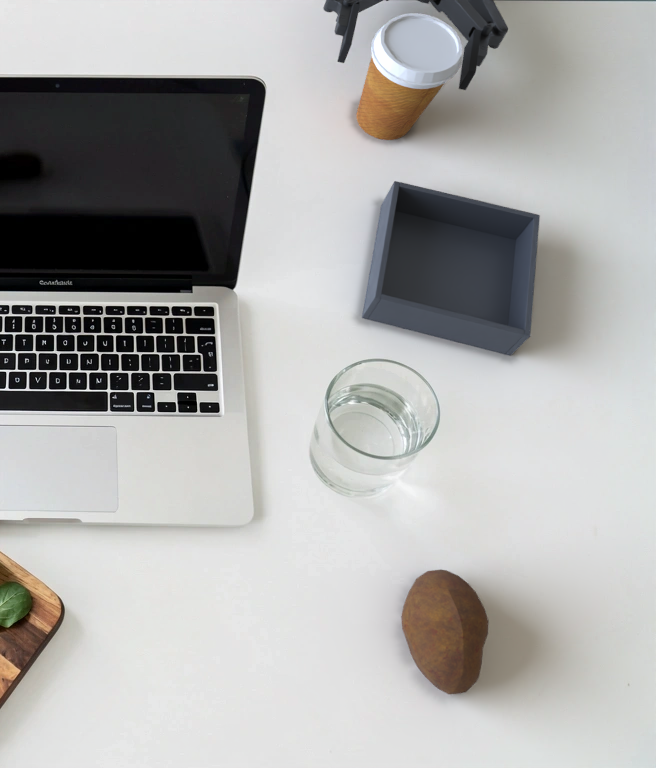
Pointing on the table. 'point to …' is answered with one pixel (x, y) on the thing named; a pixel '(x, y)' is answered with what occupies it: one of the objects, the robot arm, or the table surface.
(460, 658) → the potato
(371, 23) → the table surface
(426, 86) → the disposable coffee cup
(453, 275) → the bin
